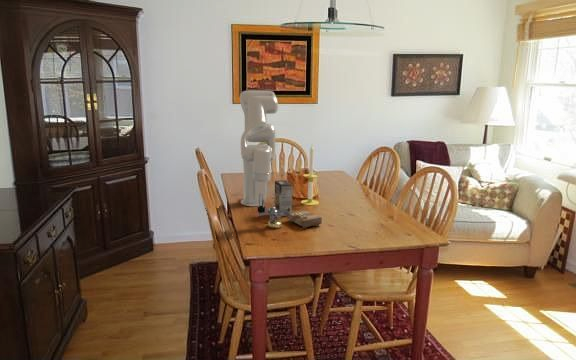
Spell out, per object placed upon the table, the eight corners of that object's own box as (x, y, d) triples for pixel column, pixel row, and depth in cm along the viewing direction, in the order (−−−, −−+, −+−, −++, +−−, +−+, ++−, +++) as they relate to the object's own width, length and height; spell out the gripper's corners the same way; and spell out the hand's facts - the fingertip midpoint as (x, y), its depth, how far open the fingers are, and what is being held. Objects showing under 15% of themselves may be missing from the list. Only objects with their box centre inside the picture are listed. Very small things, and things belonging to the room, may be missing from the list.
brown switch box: (287, 220, 220) (287, 209, 219) (304, 217, 225) (304, 206, 224) (303, 229, 209) (304, 217, 207) (321, 226, 214) (321, 214, 213)
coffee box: (273, 211, 235) (274, 180, 231) (285, 210, 237) (286, 179, 233) (279, 216, 226) (280, 184, 222) (292, 215, 228) (293, 184, 225)
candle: (309, 206, 244) (311, 146, 236) (297, 202, 252) (298, 143, 244) (322, 203, 250) (325, 144, 243) (310, 199, 258) (312, 141, 250)
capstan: (261, 234, 201) (261, 214, 199) (248, 223, 214) (248, 204, 212) (294, 229, 208) (294, 209, 206) (280, 219, 221) (280, 201, 219)
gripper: (254, 171, 212) (254, 209, 217) (252, 180, 198) (251, 220, 203) (270, 172, 213) (270, 209, 217) (269, 180, 198) (268, 220, 203)
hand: (261, 214), depth 210 cm, fingers closed
